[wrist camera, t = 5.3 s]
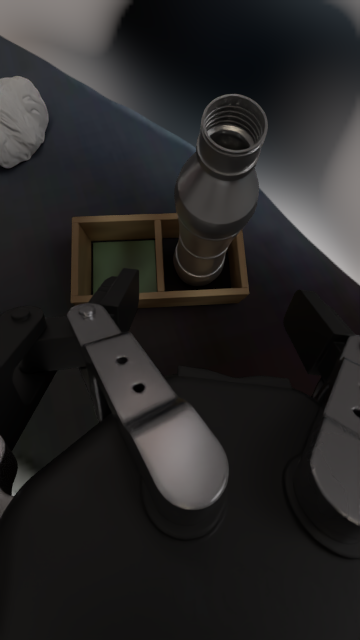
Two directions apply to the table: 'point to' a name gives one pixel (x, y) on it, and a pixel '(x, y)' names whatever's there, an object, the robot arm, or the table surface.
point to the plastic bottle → (218, 186)
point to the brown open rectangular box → (143, 260)
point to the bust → (20, 120)
